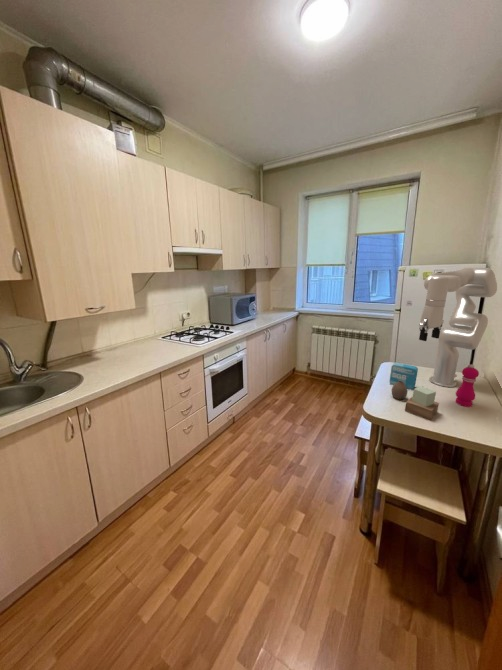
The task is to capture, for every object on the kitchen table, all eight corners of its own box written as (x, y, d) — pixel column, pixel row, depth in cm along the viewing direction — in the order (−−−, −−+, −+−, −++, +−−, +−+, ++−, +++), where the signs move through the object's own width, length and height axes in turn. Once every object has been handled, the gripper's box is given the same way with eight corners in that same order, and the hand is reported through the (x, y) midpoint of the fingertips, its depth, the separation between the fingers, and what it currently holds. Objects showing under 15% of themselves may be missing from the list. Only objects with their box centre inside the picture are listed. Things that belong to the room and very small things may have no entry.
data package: (389, 384, 147) (391, 364, 144) (390, 381, 150) (393, 361, 147) (413, 390, 140) (417, 369, 137) (414, 387, 143) (418, 366, 140)
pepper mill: (469, 401, 128) (478, 362, 123) (476, 408, 122) (485, 368, 116) (451, 398, 130) (459, 361, 125) (457, 405, 124) (466, 366, 119)
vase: (408, 401, 128) (411, 385, 126) (393, 400, 129) (395, 384, 127) (403, 395, 135) (405, 379, 132) (389, 393, 136) (391, 378, 134)
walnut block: (412, 404, 126) (414, 394, 125) (437, 412, 119) (438, 402, 118) (404, 411, 120) (406, 401, 119) (429, 421, 113) (431, 410, 111)
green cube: (420, 398, 122) (422, 386, 120) (433, 404, 117) (436, 391, 115) (411, 400, 119) (413, 388, 118) (425, 406, 114) (427, 394, 113)
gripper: (437, 301, 128) (431, 335, 132) (415, 303, 120) (409, 339, 125) (454, 303, 121) (447, 338, 126) (432, 305, 114) (426, 343, 118)
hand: (428, 339), depth 125 cm, fingers open, 9 cm apart
